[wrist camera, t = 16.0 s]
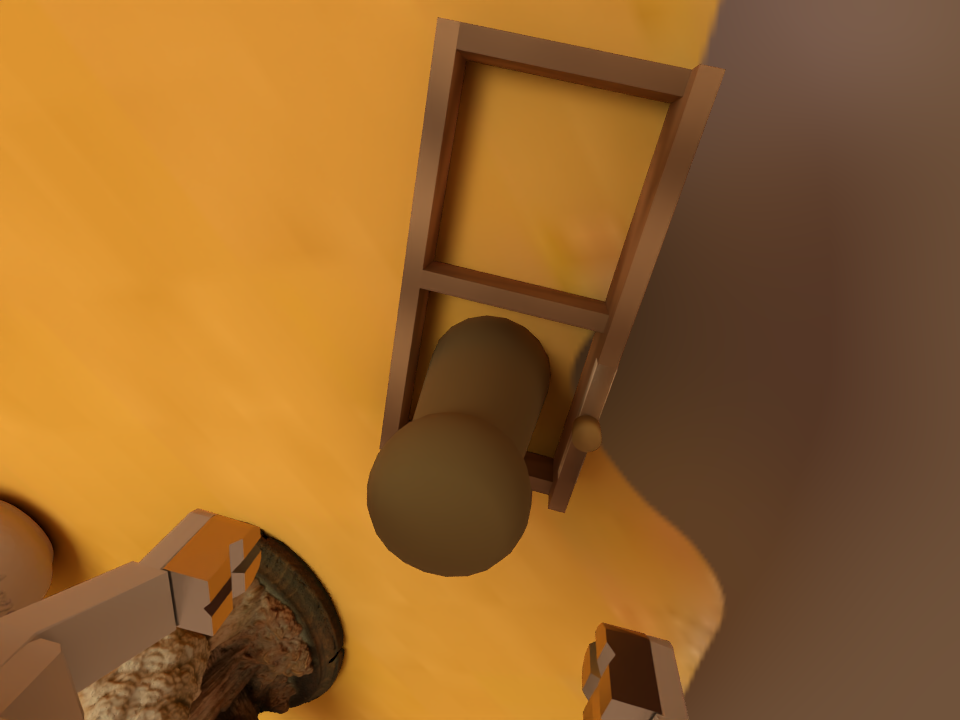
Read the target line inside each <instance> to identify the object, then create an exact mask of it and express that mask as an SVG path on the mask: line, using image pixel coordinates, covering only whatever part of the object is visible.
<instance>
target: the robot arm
mask: <svg viewBox="0 0 960 720" xmlns="http://www.w3.org/2000/svg"><path fill="white" fill-rule="evenodd" d="M260 538H261V534H260V527H257V526H254V525H251V524H248V523H245V522H241V521H238V520H235V519H232V518H228V517H225V516H222V515H219V514H216V513H212V512H209V511H205V510H202V509H196V510H194V511H192V512H190V513H189V514H188V515H187V516H186V517H185V518H184V519H183V520H182V521H181V522H180V523H179V524H178V525H177V526H176V527H175V528H174V529H173V530H172V531H171V532H170V533H169V534H167V535H166V536H165V537H164V538H163V539H162V540H161V541H160V542H159V543H158V544H157V545H156V546H155V547H154V548H153V549H152V550H151V551H150V552H149V553H148V554H147V555H146V556H145V557H144V558H143V559H142V560H141V561H140V562H139V563H138V562H134V561H132V562H129V563H127V564H125V565H122V566H120V567H118V568H115V569H113V570H111V571H108V572H106V573H104V574H101V575H99V576H97V577H94V578H92V579H90V580H87V581H85V582H83V583H80V584H78V585H76V586H73V587H71V588H69V589H66V590H64V591H61V592H59V593H57V594H54V595H52V596H50V597H47V598H45V599H43V600H40V601H38V602H36V603H33V604H31V605H29V606H26V607H24V608H22V609H19V610H17V611H15V612H12V613H10V614H8V615H5V616H3V617H1V618H0V720H84V711H83V708H82V705H81V702H80V699H79V696H78V694H77V693H79V692H80V691H82V690H83V689H85V688H87V687H88V686H90V685H91V684H93V683H94V682H96V681H97V680H99V679H100V678H102V677H104V676H105V675H107V674H108V673H110V672H111V671H113V670H114V669H116V668H118V667H119V666H121V665H122V664H124V663H125V662H127V661H128V660H130V659H131V658H133V657H135V656H136V655H138V654H139V653H141V652H142V651H144V650H145V649H147V648H148V647H150V646H152V645H153V644H155V643H156V642H158V641H159V640H161V639H162V638H164V637H165V636H167V635H169V634H170V633H172V632H173V631H175V630H176V627H179V628H183V629H187V630H190V631H194V632H198V633H202V634H206V635H209V636H214V635H215V634H216V632H217V631H218V629H219V628H220V627H221V625H222V624H223V622H224V621H225V620H226V618H227V617H228V616H229V614H230V613H231V611H232V610H233V598H235V597H237V596H239V595H240V594H242V593H244V592H246V590H247V589H248V587H249V586H250V584H251V583H252V581H253V580H254V577H255V575H256V573H257V571H258V569H259V565H260V561H261V550H260V549H259V547H258V546H257V545H256V543H257V542H258V540H259V539H260ZM595 636H596V641H595V642H593V643H591V644H589V646H588V648H587V651H586V653H585V657H584V662H583V668H582V690H583V692H584V694H585V696H586V698H587V699H588V703H587V705H586V707H585V709H584V711H583V720H689V718H688V713H687V709H686V704H685V700H684V695H683V691H682V686H681V682H680V677H679V673H678V668H677V664H676V660H675V655H674V651H673V647H672V645H671V643H670V642H669V641H667V640H663V639H660V638H656V637H652V636H649V635H645V634H644V633H640V632H636V631H632V630H629V629H625V628H621V627H617V626H614V625H610V624H606V623H601V624H599V626H598V628H597V630H596V632H595Z"/></svg>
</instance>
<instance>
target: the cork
mask: <svg viewBox="0 0 960 720" xmlns="http://www.w3.org/2000/svg"><path fill="white" fill-rule="evenodd" d="M550 377H551V373H550V367H549V360H548V356H547V355H546V353H545V351H544V349H543V347H542V345H541V343H540V342H539V340H538V339H537V338H536V337H535V336H533V335H532V334H531V333H530V332H529V331H528V330H527V329H526V328H525V327H523V326H521V325H519V324H517V323H515V322H513V321H511V320H509V319H506V318H500V317H493V316H481V317H475V318H468V319H466V320H464V321H462V322H460V323H458V324H456V325H454V326H452V327H451V328H450V329H449V330H448V331H447V332H446V333H445V334H444V335H443V336H442V337H441V338H440V339H439V341H438V344H437V346H436V348H435V350H434V353H433V355H432V358H431V361H430V364H429V368H428V371H427V374H426V378H425V381H424V384H423V387H422V391H421V394H420V397H419V401H418V404H417V407H416V410H415V414H414V417H413V420H412V422H409V423H408V424H406V425H405V426H403V427H402V428H401V429H399V430H398V431H397V432H396V433H395V434H394V435H393V436H392V437H391V438H390V439H389V440H388V441H387V442H386V443H385V444H384V446H383V447H382V449H381V450H380V452H379V453H378V455H377V458H376V460H375V462H374V465H373V467H372V469H371V471H370V475H369V479H368V484H367V507H368V510H369V514H370V518H371V520H372V523H373V526H374V529H375V531H376V534H377V535H378V537H379V538H380V539H381V541H382V542H383V543H384V545H385V546H386V547H387V549H388V550H389V551H391V552H392V553H393V554H394V555H396V556H397V557H398V558H399V559H401V560H402V561H403V562H405V563H406V564H408V565H411V566H413V567H415V568H417V569H419V570H421V571H423V572H427V573H431V574H436V575H441V576H445V577H453V576H469V575H473V574H476V573H479V572H483V571H486V570H488V569H489V568H490V567H492V566H493V565H495V564H496V563H498V562H499V561H501V560H502V559H503V558H504V557H506V556H507V555H508V554H510V553H511V552H512V550H513V549H514V547H515V546H516V544H517V543H518V541H519V540H520V538H521V537H522V535H523V533H524V531H525V529H526V526H527V524H528V519H529V513H530V508H531V501H532V489H531V484H530V479H529V474H528V469H527V466H526V463H525V460H524V456H525V453H526V450H527V448H528V445H529V442H530V439H531V437H532V434H533V431H534V428H535V426H536V423H537V420H538V417H539V415H540V412H541V409H542V406H543V403H544V401H545V398H546V395H547V392H548V387H549V382H550Z"/></svg>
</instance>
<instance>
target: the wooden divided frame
mask: <svg viewBox="0 0 960 720" xmlns="http://www.w3.org/2000/svg"><path fill="white" fill-rule="evenodd" d="M466 60H468V61H473V62H478V63H482V64H487V65H492V66H497V67H501V68H506V69H511V70H515V71H520V72H525V73H530V74H534V75H539V76H544V77H549V78H553V79H558V80H563V81H567V82H572V83H577V84H582V85H586V86H591V87H596V88H600V89H605V90H610V91H615V92H619V93H624V94H629V95H634V96H638V97H643V98H648V99H652V100H657V101H662V102H667V103H670V106H669V109H668V112H667V115H666V118H665V122H664V125H663V128H662V131H661V134H660V137H659V140H658V143H657V146H656V149H655V152H654V155H653V158H652V161H651V164H650V167H649V170H648V173H647V176H646V179H645V182H644V185H643V188H642V191H641V194H640V197H639V201H638V204H637V207H636V210H635V213H634V216H633V219H632V222H631V225H630V228H629V231H628V234H627V237H626V240H625V243H624V246H623V249H622V252H621V255H620V258H619V261H618V264H617V267H616V270H615V273H614V276H613V280H612V283H611V286H610V289H609V292H608V295H607V298H606V301H605V302H603V301H599V300H595V299H591V298H587V297H583V296H579V295H574V294H570V293H566V292H562V291H558V290H554V289H550V288H546V287H541V286H537V285H533V284H529V283H525V282H521V281H517V280H512V279H508V278H504V277H500V276H496V275H492V274H488V273H483V272H479V271H475V270H471V269H467V268H463V267H459V266H454V265H450V264H446V263H442V262H438V261H434V259H435V253H436V246H437V240H438V234H439V228H440V222H441V215H442V209H443V203H444V197H445V191H446V184H447V178H448V172H449V166H450V160H451V153H452V147H453V141H454V135H455V129H456V122H457V116H458V110H459V104H460V98H461V91H462V85H463V79H464V73H465V67H466ZM724 73H725V69H721V68H716V67H712V66H707V65H702V64H700V65H698V66H697V67H695V68H694V69H692V70H691V69H686V68H681V67H676V66H671V65H666V64H662V63H657V62H652V61H647V60H642V59H637V58H633V57H628V56H623V55H618V54H613V53H608V52H604V51H599V50H594V49H589V48H584V47H579V46H574V45H570V44H565V43H560V42H555V41H550V40H545V39H541V38H536V37H531V36H526V35H521V34H516V33H512V32H507V31H502V30H497V29H492V28H487V27H483V26H478V25H473V24H468V23H463V22H458V21H453V20H449V19H444V18H439V17H438V19H437V26H436V34H435V41H434V49H433V56H432V63H431V71H430V78H429V86H428V93H427V101H426V108H425V115H424V123H423V130H422V138H421V145H420V153H419V160H418V167H417V175H416V182H415V190H414V197H413V204H412V212H411V219H410V227H409V234H408V242H407V249H406V256H405V264H404V271H403V279H402V286H401V294H400V301H399V308H398V316H397V323H396V331H395V338H394V346H393V353H392V360H391V368H390V375H389V383H388V390H387V397H386V405H385V412H384V420H383V427H382V435H381V442H380V449H382V447H383V446H384V444H385V443H386V442H387V441H388V440H389V439H390V438H391V437H392V436H393V435H394V434H395V433H396V432H397V431H398V430H399V429H401V428H402V427H403V426H405V425H406V424H408V423H409V422H412V421H410V420H409V414H410V408H411V401H412V395H413V389H414V383H415V377H416V370H417V364H418V358H419V352H420V346H421V339H422V333H423V327H424V321H425V315H426V308H427V302H428V296H429V290H430V291H434V292H438V293H442V294H447V295H451V296H455V297H459V298H463V299H467V300H471V301H475V302H479V303H483V304H487V305H491V306H495V307H499V308H503V309H507V310H512V311H516V312H520V313H524V314H528V315H532V316H536V317H540V318H544V319H548V320H552V321H556V322H560V323H564V324H568V325H573V326H577V327H581V328H585V329H589V330H593V331H595V334H594V337H593V340H592V343H591V346H590V350H589V352H588V356H587V359H586V362H585V365H584V368H583V371H582V374H581V377H580V380H579V383H578V386H577V389H576V392H575V395H574V398H573V401H572V404H571V407H570V410H569V413H568V416H567V419H566V422H565V425H564V428H563V431H562V434H561V438H560V441H559V444H558V447H557V450H556V453H555V456H554V459H553V458H549V457H546V456H542V455H538V454H534V453H531V452H527V451H526V453H525V456H524V460H525V463H526V466H527V469H528V474H529V479H530V484H531V489H532V491H536V492H540V493H544V494H547V495H549V500H548V509H552V510H555V511H559V512H563V513H565V510H566V508H567V505H568V502H569V499H570V497H571V494H572V491H573V488H574V486H575V484H576V482H577V479H578V476H579V473H580V471H581V468H582V465H583V462H584V460H585V457H586V454H587V452H591V451H594V450H596V449H598V448H599V447H600V445H601V443H602V436H601V430H600V424H599V422H598V421H599V418H600V416H601V413H602V410H603V407H604V404H605V402H606V399H607V396H608V393H609V391H610V388H611V385H612V382H613V380H614V377H615V374H616V371H617V367H618V364H619V362H620V359H621V356H622V353H623V351H624V348H625V345H626V343H627V340H628V337H629V334H630V332H631V329H632V326H633V323H634V321H635V318H636V315H637V312H638V310H639V307H640V304H641V301H642V298H643V296H644V293H645V290H646V287H647V285H648V282H649V279H650V276H651V274H652V271H653V268H654V265H655V263H656V260H657V257H658V254H659V252H660V249H661V246H662V243H663V240H664V238H665V235H666V232H667V230H668V227H669V224H670V221H671V218H672V216H673V213H674V210H675V208H676V205H677V202H678V199H679V197H680V194H681V191H682V188H683V186H684V183H685V180H686V177H687V174H688V172H689V169H690V166H691V163H692V161H693V158H694V155H695V153H696V150H697V147H698V144H699V141H700V139H701V136H702V133H703V131H704V128H705V125H706V122H707V120H708V117H709V114H710V111H711V108H712V106H713V103H714V100H715V98H716V95H717V92H718V89H719V86H720V84H721V81H722V78H723V75H724Z"/></svg>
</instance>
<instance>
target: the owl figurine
mask: <svg viewBox="0 0 960 720" xmlns="http://www.w3.org/2000/svg"><path fill="white" fill-rule="evenodd" d="M260 534H261V535H262V534H263V532H262V531H261V530H260ZM267 539H268V540H266V539H265V538H264V537H262V536H261V538H260V539H259V540H258V542H257V543H256V545H257V546H258V547H259V549H260V550H261V561H260V565H259V569H258V571H257V573H256V575H255V577H254V580H253V581H252V583H251V584H250V586H249V587H248V589H247V590H246V592H244V593H242V594H240V595H239V596H237V597H235V598H233V610H232V611H231V613H230V614H229V616H228V617H227V618H226V620H225V621H224V622H223V624H222V625H221V627H220V628H219V629H218V631H217V632H216V634H215V635H214V636H209V635H206V634H202V633H198V632H194V631H190V630H187V629H183V628H179V627H176V630H175V631H173V632H172V633H170V634H169V635H167V636H165V637H164V638H162V639H161V640H159V641H158V642H156V643H155V644H153V645H152V646H150V647H148V648H147V649H145V650H144V651H142V652H141V653H139V654H138V655H136V656H135V657H133V658H131V659H130V660H128V661H127V662H125V663H124V664H122V665H121V666H119V667H118V668H116V669H114V670H113V671H111V672H110V673H108V674H107V675H105V676H104V677H102V678H100V679H99V680H97V681H96V682H94V683H93V684H91V685H90V686H88V687H87V688H85V689H83V690H82V691H80V692H79V693H77V694H78V696H79V699H80V702H81V705H82V708H83V711H84V720H258V717H257V716H258V714H259V713H262V712H264V711H265V712H266V711H270V712H274V713H279V714H282V713H285V712H287V711H288V709H289V708H292V707H296V706H299V705H301V704H303V703H306V702H310V701H311V700H314V699H316V698H318V697H320V696H321V695H322V694H323V693H325V692H326V691H327V690H328V689H329V688H330V687H331V686H332V684H333V682H334V681H335V679H336V677H337V675H338V673H339V670H340V669H341V666H342V660H343V656H344V649H341V648H342V646H343V644H344V643H343V630H342V627H341V624H340V620H339V618H338V616H337V613H336V611H335V609H334V606H333V603H332V601H331V599H330V597H329V595H328V593H327V592H326V591H325V589H324V588H323V586H322V584H321V583H320V582H319V581H318V579H317V578H316V576H315V575H314V573H313V572H312V571H311V570H310V568H309V567H308V566H307V565H306V564H305V563H304V562H303V561H302V560H301V559H300V558H299V557H298V556H297V555H296V554H295V553H294V552H293V551H292V550H290V549H289V548H288V547H287V546H285V545H284V544H283V543H282V542H280V541H278V540H276V539H273V538H271V537H269V538H267ZM340 649H341V651H340V652H339V654H338V655H337V657H336V658H335V659H334V661H333V662H332V663H329V661H330V660H331V659H332V658H333V657H334V656H335V654H337V652H338V651H339V650H340Z"/></svg>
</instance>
